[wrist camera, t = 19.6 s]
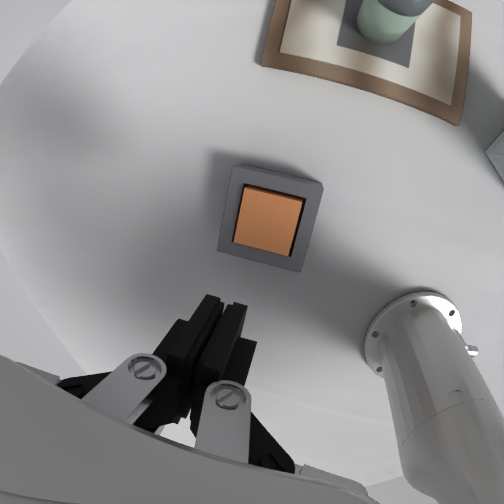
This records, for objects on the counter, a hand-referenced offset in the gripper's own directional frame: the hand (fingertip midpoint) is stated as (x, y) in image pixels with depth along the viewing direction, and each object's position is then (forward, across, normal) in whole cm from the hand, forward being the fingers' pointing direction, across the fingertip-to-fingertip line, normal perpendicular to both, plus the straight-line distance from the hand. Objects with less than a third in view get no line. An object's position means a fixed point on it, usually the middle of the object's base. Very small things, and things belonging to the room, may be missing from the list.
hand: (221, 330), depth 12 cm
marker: (+19, -6, -21) cm, 29 cm away
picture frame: (+20, -6, -21) cm, 30 cm away
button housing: (+20, 0, 0) cm, 20 cm away
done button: (+19, 0, 0) cm, 19 cm away
